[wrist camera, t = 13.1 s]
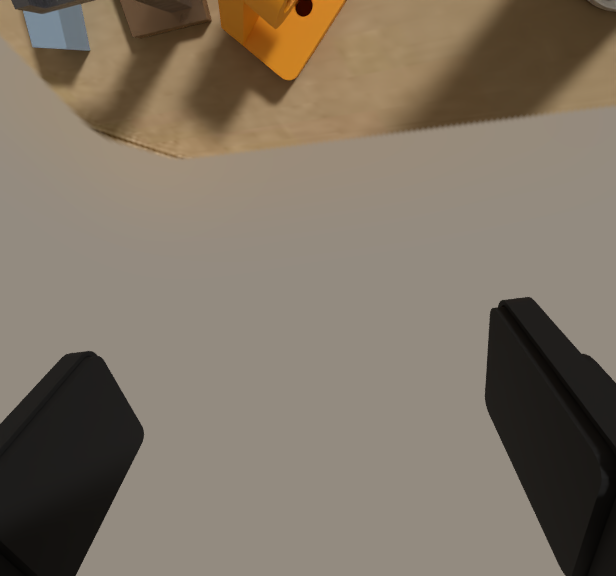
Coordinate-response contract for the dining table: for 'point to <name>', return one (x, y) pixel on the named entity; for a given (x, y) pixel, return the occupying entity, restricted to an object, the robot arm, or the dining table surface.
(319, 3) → the bracket
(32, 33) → the rail
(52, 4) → the stand
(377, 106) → the dining table surface
